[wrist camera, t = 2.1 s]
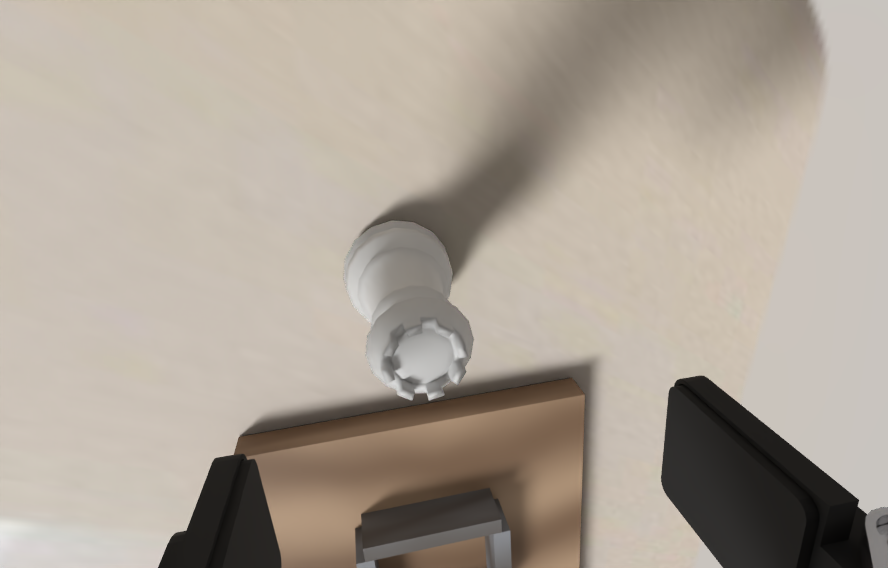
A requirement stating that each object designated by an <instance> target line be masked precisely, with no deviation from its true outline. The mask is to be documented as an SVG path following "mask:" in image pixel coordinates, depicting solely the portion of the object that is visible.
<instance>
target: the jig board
mask: <svg viewBox="0 0 888 568" xmlns="http://www.w3.org/2000/svg"><path fill="white" fill-rule="evenodd" d="M584 409H585V394H584V393H583V391H582V390H581V389H580V388H579V386H578V385H577V384H576V382H575V381H574V380H573V379H572V378H568V379H562V380H557V381H551V382H545V383H540V384H534V385H528V386H523V387H517V388H511V389H506V390H500V391H495V392H489V393H483V394H478V395H472V396H466V397H461V398H455V399H450V400H444V401H438V402H433V403H427V404H421V405H416V406H410V407H404V408H399V409H393V410H388V411H382V412H376V413H371V414H365V415H359V416H354V417H348V418H343V419H337V420H331V421H326V422H320V423H314V424H309V425H303V426H298V427H292V428H286V429H281V430H275V431H269V432H264V433H258V434H252V435H247V436H241V437H239V438H238V442H237V446H236V449H235V453H234V455H236V454H242V453H243V454H245V456H246V458H247V460H249V459H255V460H256V463H257V466H258V470H259V473H260V477H261V481H262V485H263V489H264V492H265V496H266V500H267V504H268V507H269V511H270V515H271V519H272V523H273V526H274V530H275V534H276V538H277V542H278V545H279V549H280V553H281V563H282V567H281V568H579V563H580V532H581V502H582V471H583V440H584Z"/></svg>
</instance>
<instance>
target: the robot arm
mask: <svg viewBox="0 0 888 568" xmlns="http://www.w3.org/2000/svg"><path fill="white" fill-rule="evenodd" d="M661 482H662V486H663V489H664V491H665V493H666V495H667V496H668V498H669V499H670V500H671V501H672V503H673V504H674V505H675V507H676V508H677V509H678V510H679V512H680V513H681V514H682V515H683V517H684V518H685V519H686V521H687V522H688V523H689V524H690V526H691V527H692V528H693V530H694V531H695V532H696V533H697V535H698V536H699V537H700V539H701V540H702V541H703V542H704V544H705V545H706V546H707V547H708V549H709V550H710V551H711V553H712V554H713V555H714V557H715V558H716V559H717V560H718V562H719V563H720V564H721V566H722V567H723V568H888V507H883V508H882V507H881V508H879V509H875V510H872V511H871V512H870V513H869V514H868V515H867V514H866V513H865V512H864V511H862V510H861V509H860V508H859V507H858V502H859V500H858V499H857V498H856V497H854V496H853V495H852V494H851V493H849V492H848V491H847V490H846V489H845V488H843V487H842V486H841V485H840V484H838V483H837V482H836V481H835V480H833V479H832V478H831V477H830V476H828V475H827V474H826V473H825V472H824V471H822V470H821V469H820V468H819V467H817V466H816V465H815V464H814V463H812V462H811V461H810V460H809V459H807V458H806V457H805V456H804V455H802V454H801V453H800V452H799V451H797V450H796V449H795V448H794V447H792V446H791V445H790V444H789V443H788V442H786V441H785V440H784V439H782V438H781V437H780V436H779V435H778V434H776V433H775V432H774V431H773V430H771V429H770V428H769V427H768V426H766V425H765V424H764V423H763V422H761V421H760V420H759V419H758V418H756V417H755V416H754V415H753V414H752V413H750V412H749V411H747V410H746V409H745V408H744V407H743V406H742V405H740V404H739V403H738V402H737V401H735V400H734V399H733V398H732V397H730V396H729V395H728V394H727V393H725V392H724V391H723V390H722V389H720V388H719V387H718V386H717V385H715V384H714V383H713V382H712V381H711V380H709V379H708V378H706V377H705V376H695V377H689V378H684V379H679V380H677V381H676V383H675V385H674V387H671V388H670V390H669V396H668V407H667V418H666V430H665V441H664V452H663V464H662V475H661ZM281 567H282V563H281V553H280V549H279V545H278V542H277V538H276V534H275V530H274V526H273V523H272V519H271V515H270V511H269V507H268V504H267V500H266V496H265V492H264V489H263V485H262V481H261V477H260V473H259V470H258V466H257V463H256V460H255V459H249V460H247V458H246V456H245V454H243V453H242V454H236V455H230V456H225V457H219V458H215V459H214V461H213V462H212V465H211V467H210V470H209V473H208V475H207V478H206V481H205V483H204V486H203V489H202V491H201V494H200V497H199V499H198V502H197V504H196V507H195V510H194V512H193V515H192V518H191V520H190V523H189V526H188V528H187V531H183V532H178V533H175V534H174V535H173V536H172V537H171V539H170V541H169V543H168V545H167V547H166V550H165V552H164V555H163V557H162V560H161V562H160V564H159V567H158V568H281Z"/></svg>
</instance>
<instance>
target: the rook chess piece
mask: <svg viewBox="0 0 888 568" xmlns="http://www.w3.org/2000/svg"><path fill="white" fill-rule="evenodd" d="M452 276H453V272H452V268H451V265H450V261H449V258H448V254H447V252H446V249H445V246H444V245H443V244H442V243H441V242H440V240H439V239H438V238H437V237H436V235H435V234H434V233H433V232H432V231H430V230H428V229H426V228H424V227H422V226H420V225H418V224H416V223H414V222H406V221H393V220H392V221H389V222H386V223H382V224H379V225H376V226H373V227H371V228H369V229H368V230H367V231H366V232H365V233H363V234H362V235H361V236H360V237H358V238H357V239H356V240H355V241H354V243H353V245H352V247H351V248H350V250H349V252H348V254H347V256H346V258H345V264H344V282H345V285H346V290H347V292H348V295H349V298H350V300H351V303H352V306H353V307H354V308H355V309H356V310H357V311H358V312H359V313H360V314H361V315H362V316H363V317H364V318H365V319H366V320H367V321H368V322H370V323H371V330H370V332H369V334H368V335H367V344H366V358H367V360H368V363H369V366H370V368H371V371H372V373H373V374H374V375H375V376H376V377H377V378H378V379H379V380H380V381H381V382H382V383H383V384H384V385H385V386H387V387H390V388H392V389H395V390H396V391H397V395H398V396H401V397H404V398H406V399H409V400H413V397H414V394H415V393H427V396H428V400H429V401H430V400H433V399H435V398H438V397H441V396H444V395H445V394H444V391H443V388H442V387H444V386H446V385H447V384H448V383H450V382H451V381H452V382H454V383H455V384H457V385H458V384H459V383H460V381H461V379H462V378H463V376H464V375H465V373H466V370H465V366H466V364H467V363H468V361H469V359H470V358H471V352H472V346H473V340H474V339H473V335H472V331H471V328H470V324H469V321H468V320H467V319H466V318H465V316H464V315H463V314H462V313H461V312H460V311H459V310H458V308H457V307H456V306H453V305H452V304H451V303H450V302H449V301H448V300H447V299H448V297H449V296H450V290H451V283H452Z"/></svg>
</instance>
